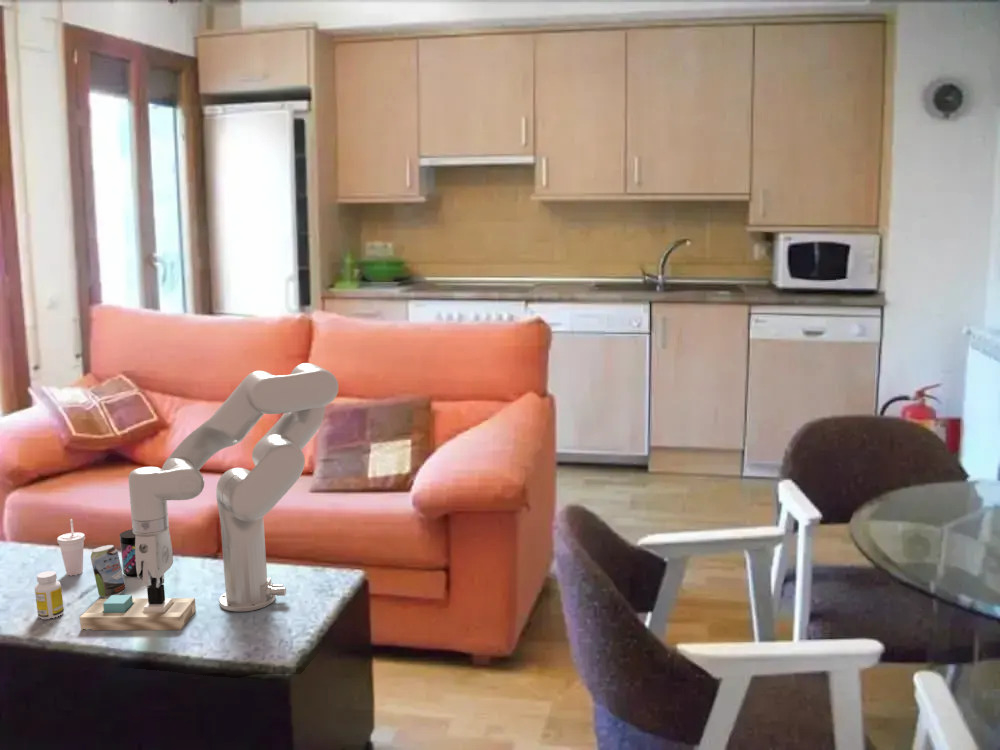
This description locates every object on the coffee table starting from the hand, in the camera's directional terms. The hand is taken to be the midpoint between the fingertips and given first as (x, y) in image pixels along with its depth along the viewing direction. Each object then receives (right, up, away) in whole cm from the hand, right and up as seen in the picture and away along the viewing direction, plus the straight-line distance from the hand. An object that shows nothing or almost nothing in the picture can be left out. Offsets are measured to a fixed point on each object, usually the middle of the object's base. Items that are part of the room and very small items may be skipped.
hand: (156, 602), depth 220 cm
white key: (0, -3, +1) cm, 3 cm away
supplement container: (-15, +1, +29) cm, 33 cm away
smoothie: (-31, 0, +29) cm, 43 cm away
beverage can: (-16, -2, +15) cm, 22 cm away
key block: (-4, -4, +1) cm, 6 cm away
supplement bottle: (-26, -4, +5) cm, 26 cm away
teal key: (-9, -2, +1) cm, 9 cm away
